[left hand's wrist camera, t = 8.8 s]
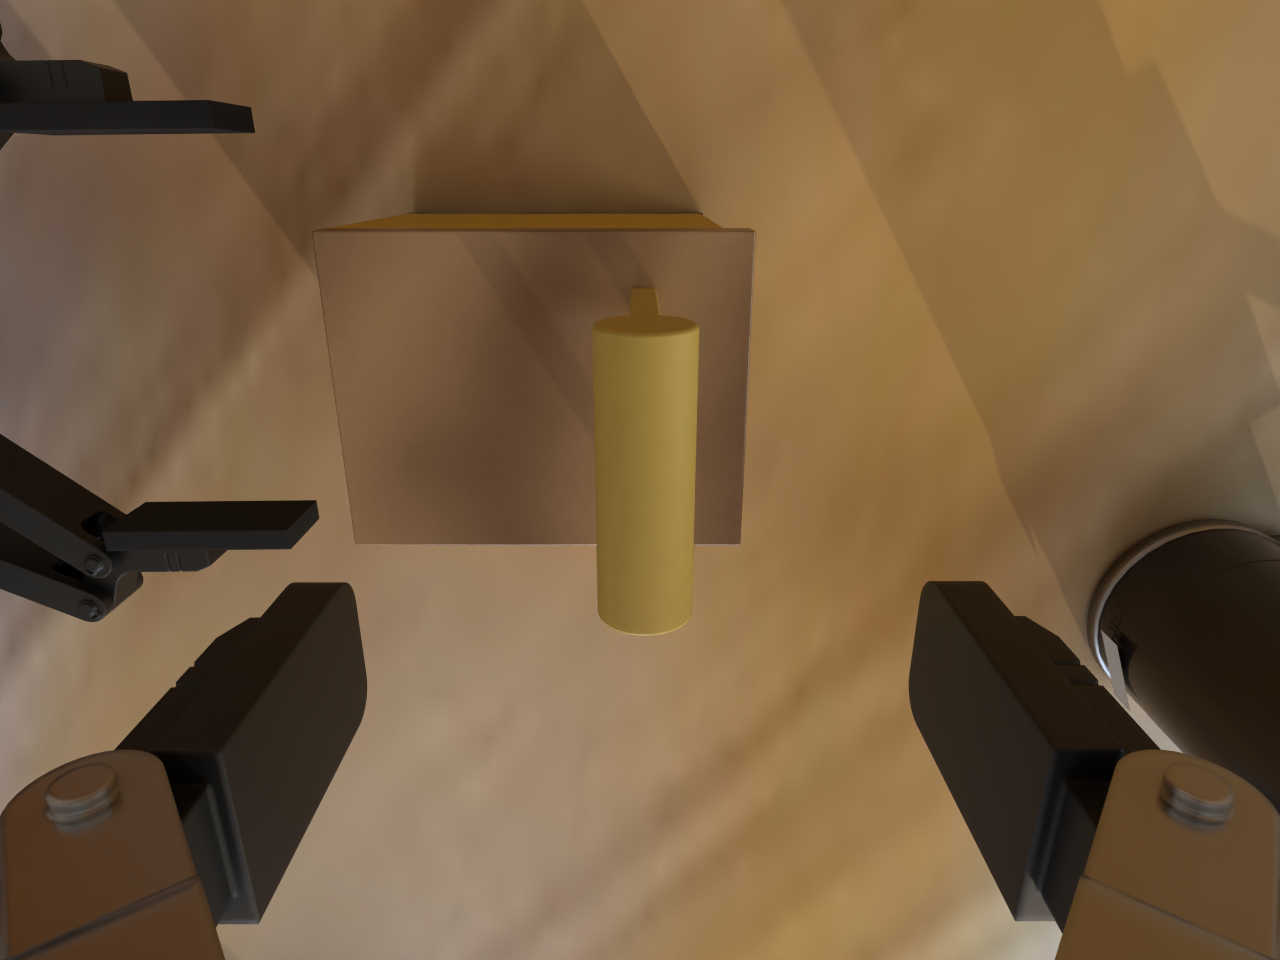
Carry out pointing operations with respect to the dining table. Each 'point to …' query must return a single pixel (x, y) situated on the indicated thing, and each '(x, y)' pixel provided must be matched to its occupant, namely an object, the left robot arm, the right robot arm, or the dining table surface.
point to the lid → (546, 394)
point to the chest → (540, 220)
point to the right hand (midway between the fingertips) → (273, 338)
